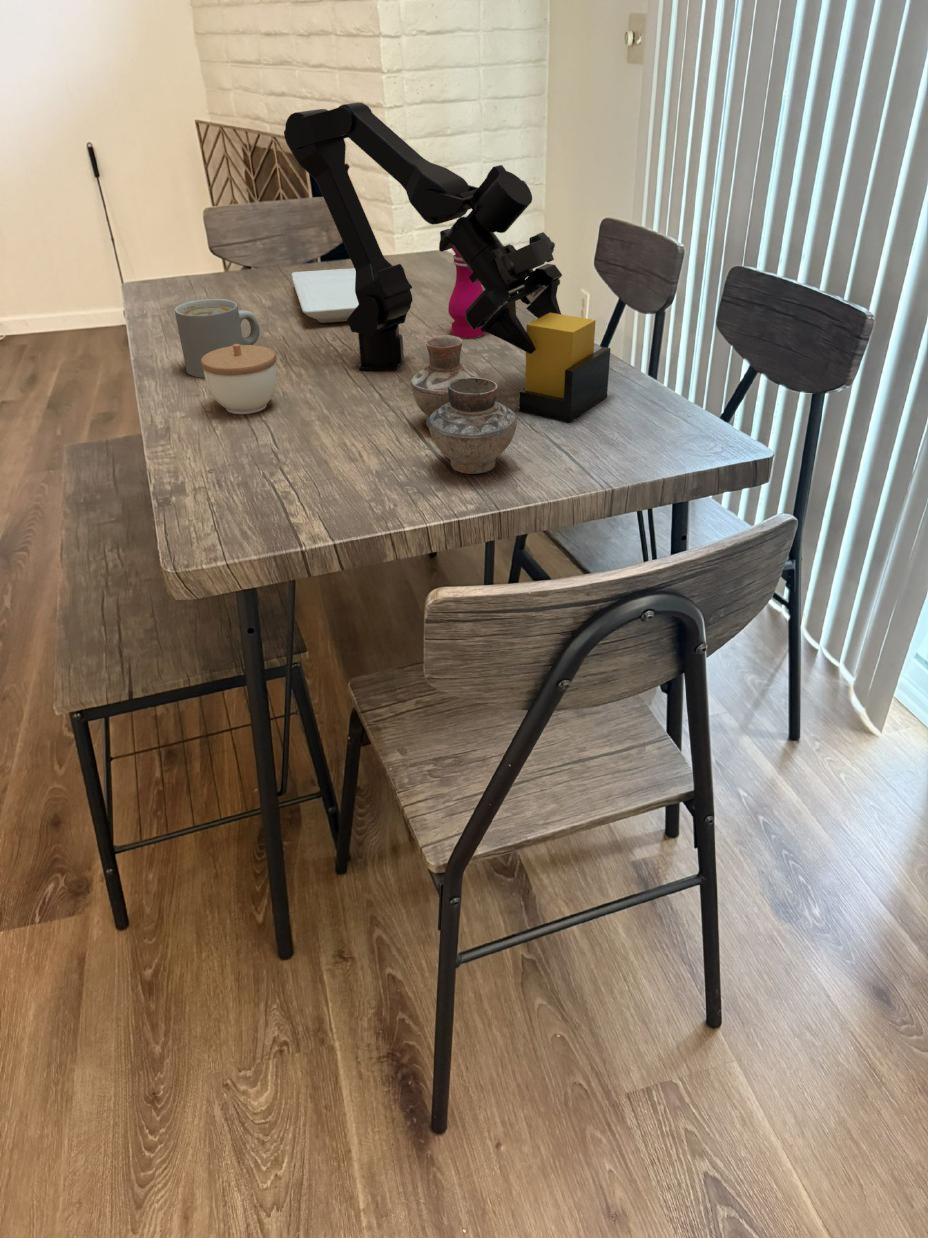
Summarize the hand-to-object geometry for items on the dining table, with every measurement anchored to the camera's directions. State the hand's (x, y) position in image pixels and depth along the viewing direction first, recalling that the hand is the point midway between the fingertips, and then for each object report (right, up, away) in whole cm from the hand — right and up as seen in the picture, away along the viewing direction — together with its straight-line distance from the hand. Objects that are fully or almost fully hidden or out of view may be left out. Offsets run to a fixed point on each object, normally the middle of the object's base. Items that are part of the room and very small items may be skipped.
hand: (549, 342), depth 130 cm
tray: (-38, +23, +51) cm, 67 cm away
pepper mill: (-12, +12, +33) cm, 37 cm away
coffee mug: (-52, +2, +21) cm, 56 cm away
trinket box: (-45, -8, +5) cm, 46 cm away
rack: (+2, -8, +4) cm, 9 cm away
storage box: (+2, -8, +4) cm, 9 cm away
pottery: (-13, -17, -8) cm, 23 cm away
